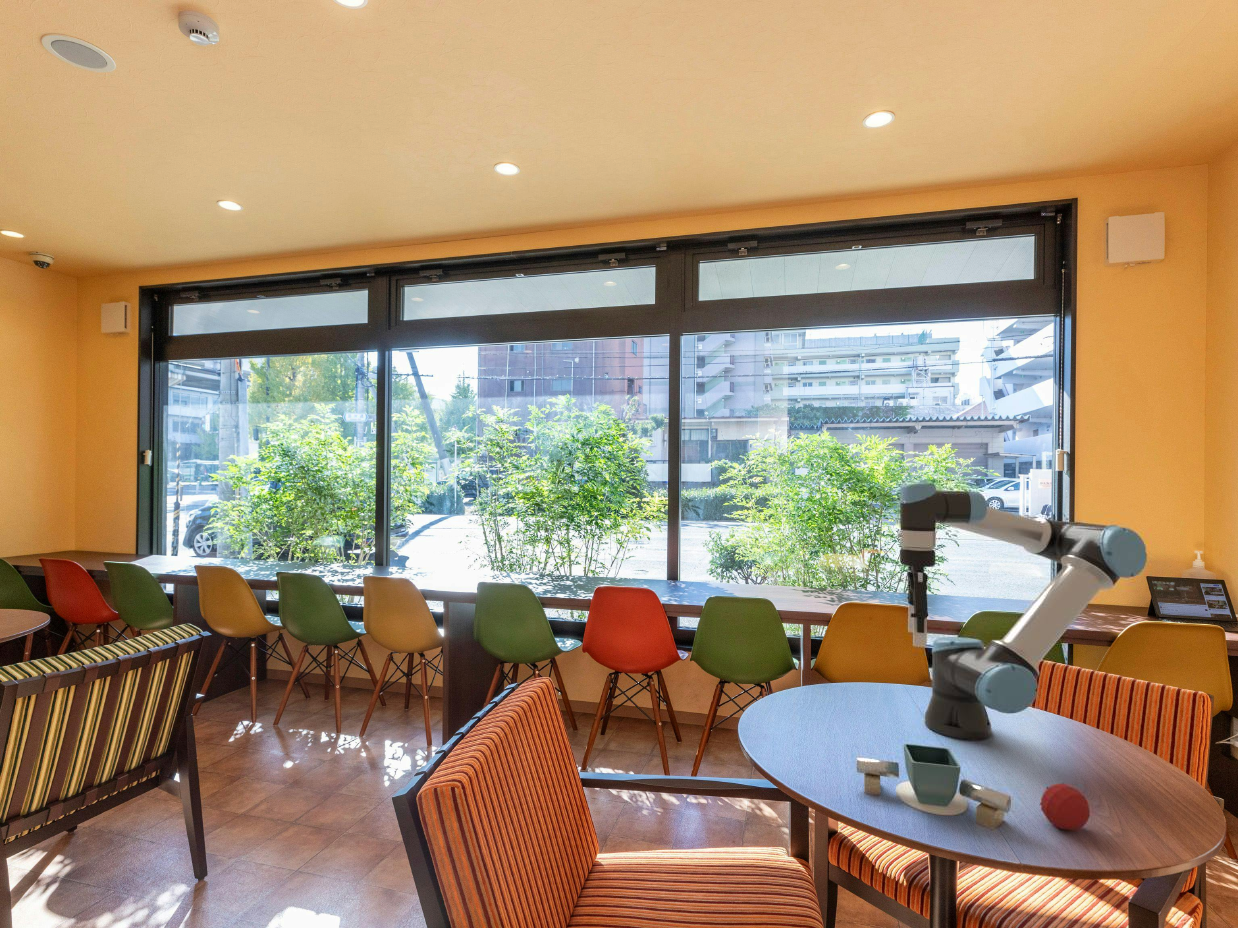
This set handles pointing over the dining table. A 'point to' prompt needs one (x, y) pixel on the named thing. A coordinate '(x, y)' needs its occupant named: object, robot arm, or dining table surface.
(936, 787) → the flower pot
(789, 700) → the dining table surface
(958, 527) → the robot arm
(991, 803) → the shaft
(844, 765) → the dining table surface
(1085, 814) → the tomato
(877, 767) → the shaft
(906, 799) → the seat pad
